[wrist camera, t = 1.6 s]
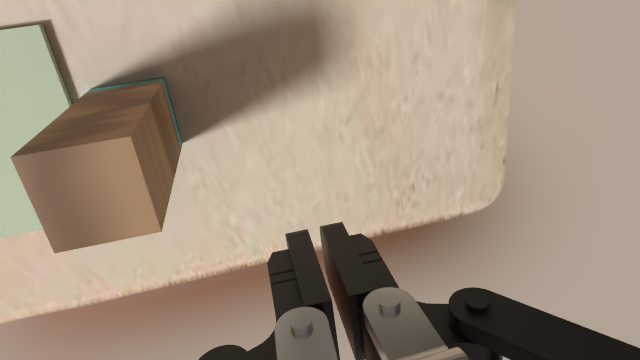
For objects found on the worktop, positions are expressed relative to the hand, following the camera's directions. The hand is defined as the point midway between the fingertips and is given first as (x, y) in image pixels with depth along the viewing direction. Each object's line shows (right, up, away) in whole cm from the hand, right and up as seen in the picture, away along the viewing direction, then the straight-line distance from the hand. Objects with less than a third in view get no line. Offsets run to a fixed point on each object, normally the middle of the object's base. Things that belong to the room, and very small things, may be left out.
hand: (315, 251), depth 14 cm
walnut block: (-13, +7, +18) cm, 23 cm away
